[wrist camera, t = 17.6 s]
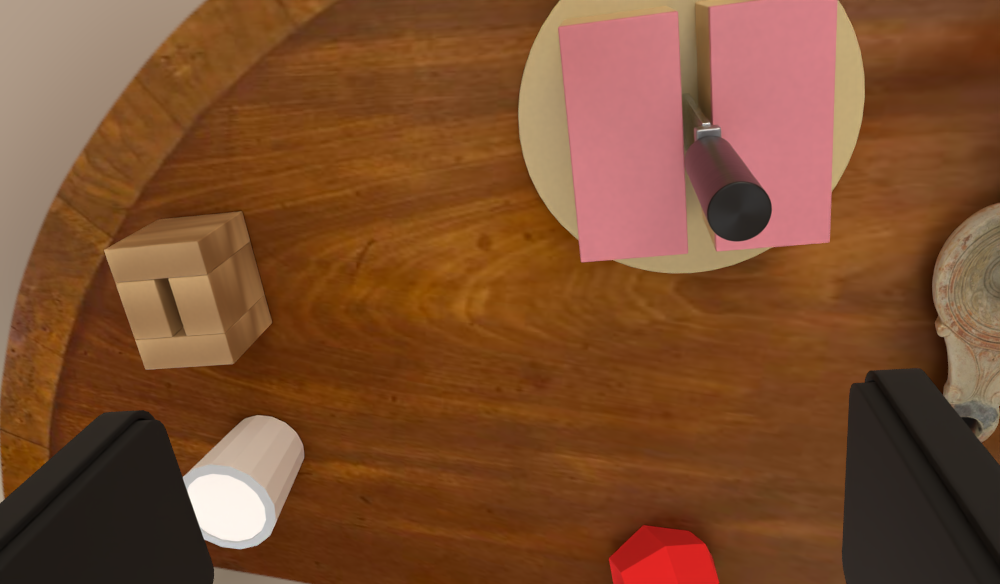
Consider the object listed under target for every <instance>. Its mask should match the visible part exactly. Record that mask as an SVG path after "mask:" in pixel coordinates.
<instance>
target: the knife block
mask: <svg viewBox="0 0 1000 584" xmlns="http://www.w3.org/2000/svg"><path fill="white" fill-rule="evenodd" d="M104 252H105V255H106V257H107V260H108V263H109V266H110V269H111V272H112V275H113V278H114V280H115V282H117V283H116V286H117V289H118V292H119V295H120V298H121V300H122V303H123V306H124V309H125V312H126V315H127V318H128V321H129V323H130V326H131V329H132V332H133V335H134V338H135V339H136V344H137V347H138V350H139V352H140V355H141V358H142V361H143V364H144V367H145V369H146V370H147V369H163V368H178V367H194V366H210V365H225V364H234V363H235V362H236V361H237V360H238V359H239V358H240V357H241V356H242V355H243V353H244V352H245V351H246V350H247V349H248V348H249V347H250V346H251V345H252V344H253V343H254V342H255V341H256V340H257V338H258V337H259V336H260V335H261V334H262V333H263V332H264V331H265V330H266V329H267V328H268V327H269V326H270V325H271V323H272V320H271V316H270V312H269V309H268V305H267V301H266V298H265V295H264V290H263V286H262V283H261V279H260V275H259V272H258V268H257V264H256V261H255V257H254V253H253V249H252V246H251V242H250V238H249V235H248V231H247V227H246V224H245V220H244V216H243V213H242V211H239V212H229V213H219V214H208V215H198V216H188V217H178V218H168V219H158V220H157V221H155V222H153V223H151V224H150V225H148V226H146V227H144V228H142V229H141V230H139V231H137V232H135V233H134V234H132V235H130V236H128V237H126V238H125V239H123V240H121V241H119V242H118V243H116V244H114V245H112V246H110V247H109V248H107V249H105V250H104Z"/></svg>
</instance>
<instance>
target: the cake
mask: <svg viewBox="0 0 1000 584" xmlns="http://www.w3.org/2000/svg"><path fill="white" fill-rule="evenodd" d="M685 93H689V94H690V95H691V96H692V98H693V99H694V101H695V102H696V103H697V105H698V106H699V107H700V109H701V110H702V112H703V113H704V114H705V116H706V117H707V119H708V120H709V121H710V123H711V125H719V126H720V127H721V137H722V138H723V139H725V140H727V141H728V142H729V143H730V144H731V146H732V147H733V148H734V150H735V151H736V152H737V154H738V155H739V156H740V158H741V159H742V160H743V162H744V163H745V164H746V166H747V167H748V168H749V170H750V171H751V173H752V174H753V175H754V177H755V178H756V179H757V181H758V182H759V183H760V185H761V186H762V187H763V189H764V190H765V191H766V193H767V194H768V196H769V198H770V200H771V204H772V214H771V218H770V220H769V222H768V224H767V226H766V227H765V229H764V230H763V231H762V232H761V233H760V234H758V235H757V236H755V237H753V238H751V239H749V240H745V241H740V242H734V241H728V240H725V239H723V238H721V237H719V236H718V235H716V234H715V233H714V232H713V230H712V229H711V227H710V226H709V223H708V221H707V218H706V216H705V214H704V211H703V209H702V207H701V204H700V202H699V200H698V197H697V195H696V193H695V190H694V188H693V186H692V183H691V181H690V178H689V176H688V174H687V171H686V169H685V163H684V162H685V155H686V152H687V151H686V149H685V147H684V126H683V102H682V94H685ZM864 99H865V85H864V69H863V63H862V57H861V51H860V48H859V44H858V41H857V38H856V35H855V32H854V29H853V26H852V24H851V22H850V20H849V18H848V16H847V14H846V12H845V10H844V8H843V6H842V5H841V4H840V2H839V1H838V0H560V1H559V2H558V3H557V4H556V6H555V7H554V8H553V10H552V11H551V13H550V14H549V16H548V18H547V19H546V21H545V22H544V24H543V25H542V27H541V29H540V31H539V33H538V35H537V37H536V39H535V41H534V43H533V45H532V47H531V50H530V53H529V56H528V59H527V62H526V65H525V68H524V72H523V77H522V82H521V87H520V93H519V107H518V122H519V136H520V142H521V147H522V152H523V157H524V160H525V163H526V166H527V169H528V172H529V175H530V177H531V179H532V181H533V183H534V185H535V188H536V190H537V192H538V194H539V195H540V197H541V198H542V200H543V201H544V203H545V205H546V206H547V208H548V209H549V211H550V212H551V213H552V214H553V215H554V216H555V218H556V219H557V220H558V221H559V222H560V223H561V225H562V226H563V227H564V228H565V229H567V230H568V231H569V232H570V233H571V234H572V235H573V236H574V237H576V238H577V239H578V240H579V247H580V257H581V262H593V261H605V260H614V261H617V262H619V263H622V264H625V265H628V266H630V267H634V268H639V269H643V270H648V271H653V272H663V273H695V272H703V271H710V270H715V269H719V268H723V267H727V266H731V265H734V264H737V263H739V262H742V261H745V260H747V259H750V258H752V257H755V256H757V255H758V254H760V253H762V252H764V251H766V250H768V249H770V248H772V247H779V246H792V245H804V244H816V243H829V242H830V220H831V192H832V190H833V189H834V188H835V186H836V185H837V183H838V181H839V180H840V178H841V176H842V174H843V172H844V170H845V169H846V167H847V165H848V163H849V160H850V158H851V155H852V153H853V150H854V147H855V145H856V142H857V138H858V134H859V130H860V126H861V122H862V117H863V108H864Z"/></svg>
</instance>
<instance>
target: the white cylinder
mask: <svg viewBox="0 0 1000 584" xmlns="http://www.w3.org/2000/svg"><path fill="white" fill-rule="evenodd" d="M303 460H304V447H303V444H302V442H301V440H300V438H299V436H298V434H297V433H296V432H295V431H294V430H293V429H292V428H291V427H290V426H289V425H288V424H286V423H285V422H283V421H281V420H278V419H276V418H274V417H271V416H262V415H256V416H252V417H249V418H245V419H243V420H242V421H241V422H240V423H239V424H238V425H237V426H235V427H234V428H233V429H232V430H231V431H230V432H229V433H228V434H227V435H226V436H225V437H224V438H223V439H222V440H221V441H220V442H219V443H218V444H217V445H216V446H215V447H214V448H213V449H212V450H211V451H210V452H209V453H208V454H207V455H205V456H204V457H203V458H202V459H201V460H200V461H199V462H198V463H197V464H196V465H195V466H194V467H193V468H192V469H191V470H190V471H189V472H188V473H187V474H186V475H185V476H184V477H183V480H184V483H185V486H186V489H187V492H188V495H189V498H190V500H191V503H192V506H193V509H194V512H195V515H196V518H197V521H198V523H199V526H200V529H201V532H202V535H203V538H204V539H205V540H207V541H209V542H212V543H214V544H216V545H219V546H221V547H227V548H235V549H243V548H248V547H252V546H256V545H259V544H260V543H261V542H262V541H264V540H265V539H266V538H268V537H269V536H270V535H271V532H272V530H273V528H274V526H275V523H276V521H277V519H278V516H279V514H280V512H281V510H282V507H283V505H284V503H285V501H286V498H287V496H288V494H289V492H290V489H291V487H292V485H293V483H294V480H295V478H296V476H297V474H298V471H299V469H300V467H301V464H302V462H303Z"/></svg>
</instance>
